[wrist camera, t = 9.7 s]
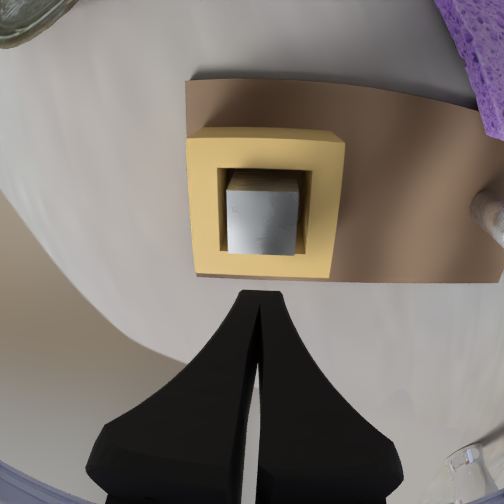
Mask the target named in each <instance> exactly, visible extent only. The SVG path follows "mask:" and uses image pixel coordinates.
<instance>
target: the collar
mask: <svg viewBox="0 0 504 504" xmlns="http://www.w3.org/2000/svg"><path fill="white" fill-rule="evenodd" d="M344 154H345V142H344V141H342V140H341V139H340V138H339V137H338V136H336V135H335V134H334V133H333V132H331V131H324V130H311V129H294V128H270V127H202V128H201V129H199V130H198V131H196V132H195V133H193V134H192V135H190V136H189V137H187V138H186V157H187V176H188V192H189V207H190V221H191V233H192V245H193V256H194V267H195V273H206V274H228V275H251V276H277V277H307V278H329V274H330V268H331V262H332V255H333V248H334V241H335V234H336V226H337V219H338V211H339V202H340V194H341V184H342V175H343V165H344ZM228 168H265V169H291V170H304V175H303V190H302V204H301V217H300V223H297V230H296V243H295V255H294V256H284V255H256V254H228V231H227V191H226V190H227V188H228Z"/></svg>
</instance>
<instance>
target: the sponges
mask: <svg viewBox="0 0 504 504" xmlns="http://www.w3.org/2000/svg"><path fill="white" fill-rule="evenodd" d="M434 2H435V4H436V6H437V8H438V10H439V11H440V13H441V14H442V17H443V19H444V21H445V23H446V26H447V28H448V30H449V32H450V35H451V37H452V38H453V39H454V41H455V45H456V48H457V50H458V53H459V55H460V56H461V58H463V59H464V60H465V62H466V65H465V70H466V72H467V74H468V78H469V82H470V85H471V88H472V90H473V92H474V93H475V94H476V101H477V105H478V109H479V112H480V115H481V118H482V121H483V125H484V128H485V132H486V135H488V136H491V137H494V138H499V139H500V140H502V141H504V0H434Z"/></svg>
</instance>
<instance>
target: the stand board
mask: <svg viewBox="0 0 504 504" xmlns="http://www.w3.org/2000/svg"><path fill="white" fill-rule="evenodd" d="M185 88H186V124H187V137H189V136H190V135H192V134H193V133H195V132H196V131H198V130H199V129H201V128H202V127H270V128H294V129H311V130H324V131H331V132H333V133H334V134H335V135H336V136H338V137H339V138H340V139H341V140H342V141H344V142H345V154H344V165H343V175H342V184H341V194H340V202H339V211H338V219H337V226H336V234H335V241H334V248H333V255H332V262H331V268H330V274H329V278H307V277H277V276H251V275H228V274H206V273H196V274H197V277H210V278H233V279H257V280H285V281H318V282H363V283H498V282H499V279H500V277H501V274H502V272H503V269H504V141H502V140H500V139H499V138H494V137H491V136H488V135H486V132H485V128H484V125H483V121H482V118H481V115H480V112H479V111H475V110H472V109H468V108H465V107H461V106H458V105H454V104H450V103H446V102H442V101H438V100H433V99H429V98H425V97H420V96H415V95H410V94H405V93H400V92H394V91H389V90H383V89H376V88H370V87H363V86H355V85H347V84H338V83H328V82H317V81H303V80H285V79H209V80H190V81H185ZM303 175H304V170H291V169H265V168H228V188H227V190H226V191H227V231H228V254H256V255H284V256H294V255H295V243H296V230H297V223H300V217H301V204H302V190H303Z"/></svg>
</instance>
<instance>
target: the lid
mask: <svg viewBox="0 0 504 504" xmlns="http://www.w3.org/2000/svg"><path fill="white" fill-rule="evenodd" d="M78 1H79V0H0V48H1V49H9V48H14V47H17V46H19V45H21V44H23V43H25V42H28V41H30V40H31V39H33V38H34V37H36V36H38V35H39V34H40V33H42V32H43V31H45V30H46V29H48V28H49V27H50V26H52V25H53V24H54V23H55V22H56V21H57V20H58V19H59V18H60V17H62V16H63V15H64V14H65V13H67V12H68V11H69V10H70V9H71V8H72V7H73V6H74V5H75V4H76V3H77V2H78Z"/></svg>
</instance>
